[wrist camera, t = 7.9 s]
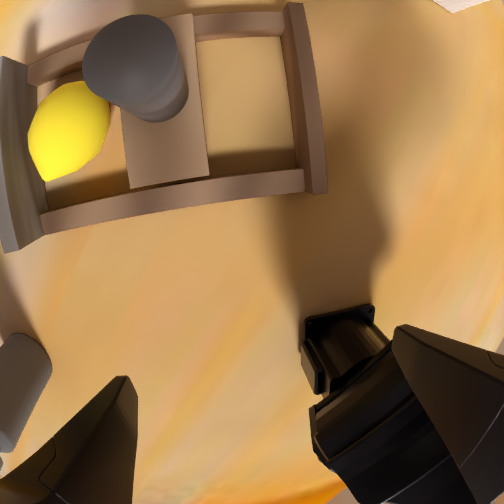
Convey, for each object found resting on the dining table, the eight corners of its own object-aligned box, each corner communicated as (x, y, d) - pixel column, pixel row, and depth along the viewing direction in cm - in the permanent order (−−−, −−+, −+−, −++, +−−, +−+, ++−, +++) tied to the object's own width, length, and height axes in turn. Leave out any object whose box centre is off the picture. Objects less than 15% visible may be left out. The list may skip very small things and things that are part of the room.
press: (291, 20, 16) (312, -11, 11) (312, 187, 20) (341, 197, 16) (23, 76, 14) (-13, 65, 9) (39, 233, 18) (4, 253, 14)
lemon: (80, 82, 16) (52, 54, 11) (136, 107, 17) (120, 80, 12) (34, 166, 16) (-5, 161, 11) (88, 196, 18) (57, 198, 13)
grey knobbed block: (195, 46, 16) (186, -54, 5) (209, 171, 19) (209, 186, 8) (137, 56, 15) (77, -26, 5) (150, 180, 18) (82, 210, 8)
